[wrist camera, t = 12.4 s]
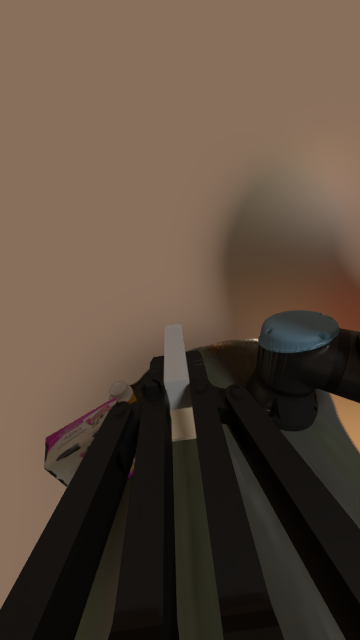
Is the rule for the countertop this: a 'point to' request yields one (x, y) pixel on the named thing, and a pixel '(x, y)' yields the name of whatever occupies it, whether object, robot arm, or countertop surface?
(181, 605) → the countertop surface
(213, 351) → the countertop surface
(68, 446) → the candy bar box
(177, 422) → the board
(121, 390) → the supplement bottle
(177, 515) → the countertop surface
